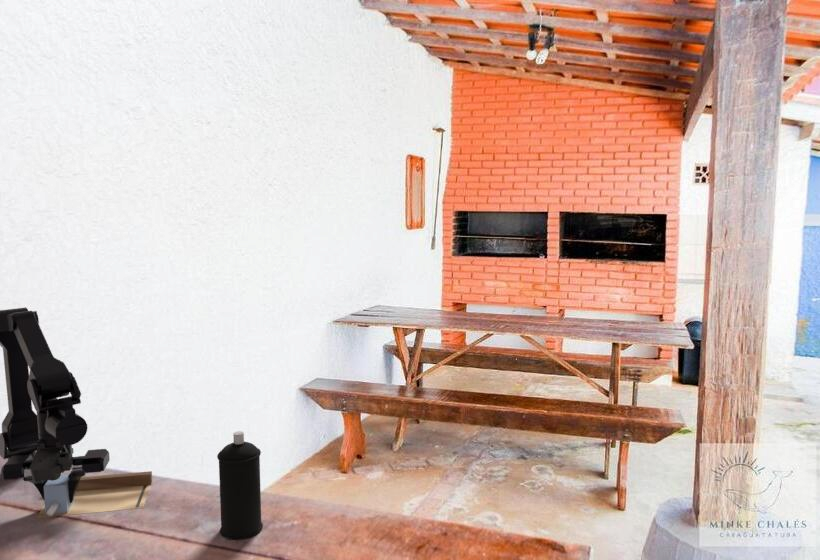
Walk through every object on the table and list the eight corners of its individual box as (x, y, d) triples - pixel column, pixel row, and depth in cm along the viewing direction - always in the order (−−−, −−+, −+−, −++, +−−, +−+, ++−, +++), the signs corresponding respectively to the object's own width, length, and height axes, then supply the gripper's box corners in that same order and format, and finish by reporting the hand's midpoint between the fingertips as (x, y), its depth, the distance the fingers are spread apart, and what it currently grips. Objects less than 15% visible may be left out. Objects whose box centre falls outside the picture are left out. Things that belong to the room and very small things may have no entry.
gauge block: (53, 502, 135) (51, 475, 134) (74, 500, 136) (72, 473, 135) (39, 523, 127) (37, 494, 126) (62, 521, 127) (60, 492, 127)
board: (54, 496, 140) (53, 479, 140) (152, 488, 145) (151, 471, 144) (36, 524, 129) (34, 506, 128) (143, 514, 133) (142, 496, 133)
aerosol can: (253, 542, 123) (250, 442, 120) (212, 538, 125) (208, 439, 122) (269, 520, 131) (266, 426, 128) (230, 516, 133) (227, 423, 130)
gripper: (-14, 450, 120) (-7, 528, 123) (94, 442, 125) (99, 517, 127) (8, 428, 131) (15, 500, 134) (107, 421, 135) (112, 491, 138)
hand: (60, 503), depth 133 cm, fingers closed on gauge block, 4 cm apart
